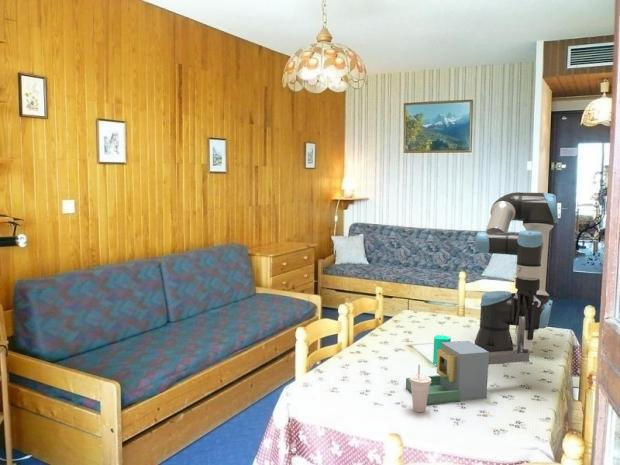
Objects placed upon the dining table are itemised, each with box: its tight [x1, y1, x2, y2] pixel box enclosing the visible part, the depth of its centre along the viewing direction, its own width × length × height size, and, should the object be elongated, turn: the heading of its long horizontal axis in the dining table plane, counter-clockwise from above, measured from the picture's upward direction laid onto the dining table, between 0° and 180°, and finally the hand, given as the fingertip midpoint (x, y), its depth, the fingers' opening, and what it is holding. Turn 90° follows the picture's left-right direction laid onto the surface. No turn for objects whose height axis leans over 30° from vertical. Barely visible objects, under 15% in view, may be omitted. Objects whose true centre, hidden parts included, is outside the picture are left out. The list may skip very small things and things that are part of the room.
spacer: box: [436, 349, 457, 382], centre depth 176 cm, size 2×8×8 cm, turn 15°
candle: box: [432, 332, 452, 365], centre depth 203 cm, size 6×6×12 cm
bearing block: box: [439, 340, 489, 401], centre depth 178 cm, size 10×12×15 cm
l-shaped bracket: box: [444, 315, 531, 367], centre depth 179 cm, size 30×4×15 cm, turn 105°
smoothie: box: [409, 363, 431, 413], centre depth 164 cm, size 6×6×14 cm
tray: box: [405, 374, 461, 406], centre depth 175 cm, size 12×14×4 cm
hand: (523, 346), depth 183 cm, fingers closed on l-shaped bracket, 4 cm apart
